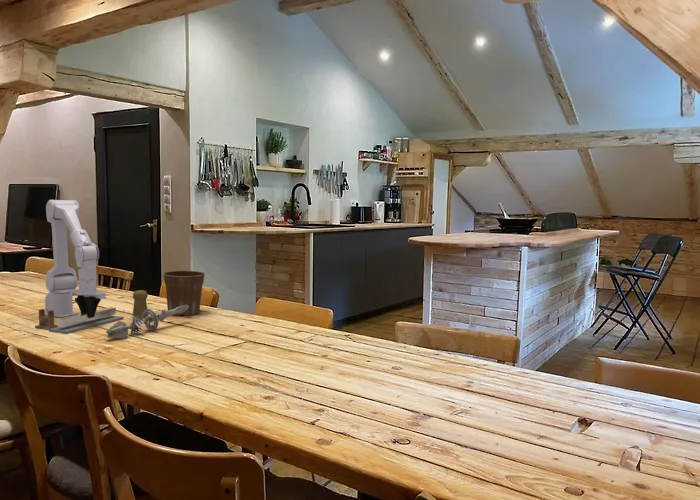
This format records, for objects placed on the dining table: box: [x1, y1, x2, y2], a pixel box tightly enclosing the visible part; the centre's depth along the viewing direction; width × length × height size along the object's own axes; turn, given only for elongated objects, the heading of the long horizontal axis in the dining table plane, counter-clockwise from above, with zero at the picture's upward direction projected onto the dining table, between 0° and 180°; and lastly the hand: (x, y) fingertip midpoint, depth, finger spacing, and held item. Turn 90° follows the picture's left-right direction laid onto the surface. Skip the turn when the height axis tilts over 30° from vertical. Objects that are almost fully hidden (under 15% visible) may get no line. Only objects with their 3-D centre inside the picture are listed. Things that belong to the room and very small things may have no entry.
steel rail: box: [56, 306, 117, 327], centre depth 200 cm, size 2×24×2 cm, turn 159°
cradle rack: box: [34, 308, 98, 331], centre depth 203 cm, size 6×23×6 cm, turn 159°
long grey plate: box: [48, 315, 125, 335], centre depth 200 cm, size 8×26×1 cm, turn 159°
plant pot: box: [162, 270, 206, 317], centre depth 223 cm, size 16×16×16 cm
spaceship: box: [105, 305, 189, 339], centre depth 194 cm, size 8×35×8 cm
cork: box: [131, 289, 150, 320], centre depth 210 cm, size 6×6×11 cm
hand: (88, 317), depth 200 cm, fingers closed on steel rail, 2 cm apart
